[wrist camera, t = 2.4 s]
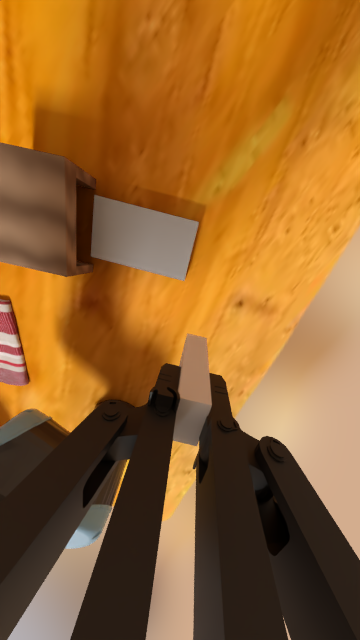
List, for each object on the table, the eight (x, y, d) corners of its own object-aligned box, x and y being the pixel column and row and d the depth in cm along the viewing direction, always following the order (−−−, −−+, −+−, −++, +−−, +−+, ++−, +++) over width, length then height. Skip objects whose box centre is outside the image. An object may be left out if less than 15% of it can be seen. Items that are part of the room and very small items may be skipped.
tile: (185, 278, 37) (184, 280, 34) (98, 256, 37) (90, 256, 34) (198, 224, 33) (198, 222, 30) (103, 199, 33) (94, 194, 30)
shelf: (92, 271, 37) (66, 276, 30) (38, 259, 37) (-1, 261, 30) (95, 179, 32) (64, 156, 24) (32, 165, 32) (-19, 138, 24)
